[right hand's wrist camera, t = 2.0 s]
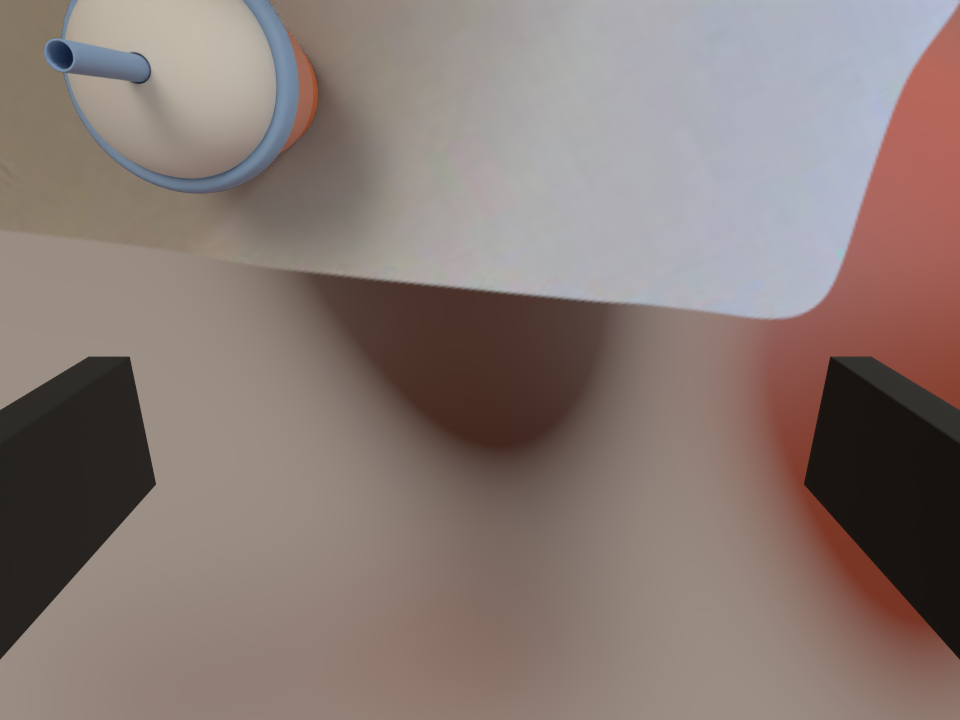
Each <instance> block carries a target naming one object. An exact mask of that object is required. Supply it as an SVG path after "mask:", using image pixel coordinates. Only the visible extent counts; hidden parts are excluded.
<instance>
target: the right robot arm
mask: <svg viewBox="0 0 960 720" xmlns="http://www.w3.org/2000/svg"><path fill="white" fill-rule="evenodd" d="M155 485H156V482H155V477H154V472H153V467H152V462H151V458H150V453H149V448H148V443H147V438H146V434H145V429H144V424H143V419H142V414H141V409H140V404H139V400H138V395H137V390H136V385H135V380H134V375H133V371H132V366H131V361H130V357H87V358H86V359H84V360H82V361H81V362H79V363H77V364H76V365H74V366H73V367H71V368H69V369H68V370H66V371H64V372H63V373H61V374H59V375H58V376H56V377H54V378H53V379H51V380H49V381H48V382H46V383H44V384H43V385H41V386H40V387H38V388H36V389H35V390H33V391H31V392H30V393H28V394H26V395H25V396H23V397H21V398H20V399H18V400H16V401H15V402H13V403H11V404H10V405H8V406H6V407H5V408H3V409H1V410H0V659H1V658H2V657H3V656H4V655H5V653H6V652H7V651H8V650H9V649H10V648H11V647H12V646H13V644H14V643H15V642H16V641H17V640H18V639H19V638H20V637H21V636H22V634H23V633H24V632H25V631H26V630H27V629H28V628H29V627H30V625H31V624H32V623H33V622H34V621H35V620H36V619H37V618H38V616H39V615H40V614H41V613H42V612H43V611H44V610H45V609H46V607H47V606H48V605H49V604H50V603H51V602H52V601H53V600H54V598H55V597H56V596H57V595H58V594H59V593H60V592H61V591H62V589H63V588H64V587H65V586H66V585H67V584H68V583H69V582H70V580H71V579H72V578H73V577H74V576H75V575H76V574H77V573H78V571H79V570H80V569H81V568H82V567H83V566H84V565H85V564H86V562H87V561H88V560H89V559H90V558H91V557H92V556H93V554H94V553H95V552H96V551H97V550H98V549H99V548H100V547H101V546H102V544H103V543H104V542H105V541H106V540H107V539H108V538H109V537H110V535H111V534H112V533H113V532H114V531H115V530H116V529H117V528H118V526H119V525H120V524H121V523H122V522H123V521H124V520H125V519H126V517H127V516H128V515H129V514H130V513H131V512H132V511H133V510H134V508H135V507H136V506H137V505H138V504H139V503H140V502H141V501H142V499H143V498H144V497H145V496H146V495H147V494H148V493H149V492H150V491H151V489H152V488H153V487H154V486H155ZM804 485H805V486H806V487H807V488H808V489H809V491H810V492H811V493H812V494H813V495H814V496H815V497H816V498H817V500H818V501H819V502H820V503H821V504H822V505H823V506H824V507H825V508H826V510H827V511H828V512H829V513H830V514H831V515H832V516H833V518H834V519H835V520H836V521H837V522H838V523H839V524H840V525H841V526H842V528H843V529H844V530H845V531H846V532H847V533H848V534H849V535H850V537H851V538H852V539H853V540H854V541H855V542H856V543H857V544H858V546H859V547H860V548H861V549H862V550H863V551H864V552H865V553H866V555H867V556H868V557H869V558H870V559H871V560H872V561H873V562H874V563H875V565H876V566H877V567H878V568H879V569H880V570H881V571H882V573H883V574H884V575H885V576H886V577H887V578H888V579H889V580H890V582H891V583H892V584H893V585H894V586H895V587H896V588H897V589H898V591H899V592H900V593H901V594H902V595H903V596H904V597H905V598H906V600H907V601H908V602H909V603H910V604H911V605H912V606H913V607H914V609H915V610H916V611H917V612H918V613H919V614H920V615H921V616H922V618H923V619H924V620H925V621H926V622H927V623H928V624H929V625H930V627H931V628H932V629H933V630H934V631H935V632H936V633H937V634H938V635H939V637H940V638H941V639H942V640H943V641H944V642H945V643H946V645H947V646H948V647H949V648H950V649H951V650H952V651H953V652H954V653H955V655H956V656H957V657H958V658H959V659H960V410H959V409H957V408H955V407H954V406H952V405H950V404H949V403H947V402H945V401H944V400H942V399H940V398H939V397H937V396H935V395H934V394H932V393H930V392H929V391H927V390H926V389H924V388H922V387H920V386H919V385H917V384H916V383H914V382H912V381H911V380H909V379H907V378H906V377H904V376H902V375H901V374H899V373H897V372H896V371H894V370H892V369H891V368H889V367H887V366H886V365H884V364H882V363H881V362H879V361H878V360H876V359H874V358H873V357H830V361H829V366H828V371H827V375H826V380H825V385H824V390H823V395H822V400H821V405H820V409H819V414H818V419H817V424H816V429H815V433H814V438H813V443H812V448H811V453H810V458H809V462H808V467H807V472H806V477H805V482H804Z"/></svg>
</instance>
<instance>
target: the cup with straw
mask: <svg viewBox="0 0 960 720" xmlns="http://www.w3.org/2000/svg"><path fill="white" fill-rule="evenodd" d="M44 56H45V59H46V61H47V63H48V64H49V65H50V66H51V67H52V68H53V69H54V70H56V71H59V72H64V77H65V81H66V85H67V88H68V92H69V94H70V97H71V100H72V102H73V105H74V107H75V109H76V111H77V113H78V115H79V117H80V119H81V120H82V122H83V124H84V125H85V127H86V128H87V130H88V131H89V133H90V134H91V136H92V137H93V138H94V139H95V141H96V142H97V143H98V144H99V145H100V146H101V148H102V149H103V150H104V151H105V152H106V153H107V154H108V155H109V156H111V157H112V158H113V159H114V160H115V161H116V162H117V163H119V164H120V165H121V166H123V167H124V168H125V169H127V170H128V171H130V172H131V173H133V174H134V175H136V176H138V177H140V178H142V179H144V180H145V181H148V182H150V183H152V184H155V185H157V186H160V187H163V188H166V189H170V190H174V191H179V192H186V193H214V192H219V191H225V190H228V189H231V188H235V187H237V186H239V185H242V184H244V183H246V182H248V181H249V180H251V179H253V178H254V177H256V176H257V175H259V174H260V173H261V172H263V171H264V170H265V169H266V168H267V167H268V166H269V165H270V164H271V163H272V162H273V161H274V160H275V158H276V157H277V156H278V154H280V153H282V152H283V151H285V150H286V149H287V148H289V147H290V146H291V145H292V144H293V143H294V142H295V141H296V140H297V139H298V138H299V137H301V136H302V135H303V134H304V133H305V131H306V130H307V129H308V127H309V126H310V124H311V122H312V120H313V118H314V116H315V113H316V109H317V103H318V86H317V80H316V76H315V73H314V70H313V68H312V66H311V63H310V62H309V60H308V58H307V57H306V55H305V54H304V52H303V51H302V49H301V48H300V46H299V44H298V43H297V41H296V40H295V39H294V37H293V36H292V35H291V34H290V33H289V31H287V30H286V29H285V27H284V25H283V23H282V21H281V19H280V18H279V16H278V14H277V12H276V11H275V9H274V8H273V6H272V5H271V3H270V2H269V1H268V0H71V1H70V4H69V6H68V9H67V12H66V16H65V19H64V24H63V30H62V39H61V38H53V39H51V40H49V41H48V42H47V43H46V45H45V48H44Z"/></svg>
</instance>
